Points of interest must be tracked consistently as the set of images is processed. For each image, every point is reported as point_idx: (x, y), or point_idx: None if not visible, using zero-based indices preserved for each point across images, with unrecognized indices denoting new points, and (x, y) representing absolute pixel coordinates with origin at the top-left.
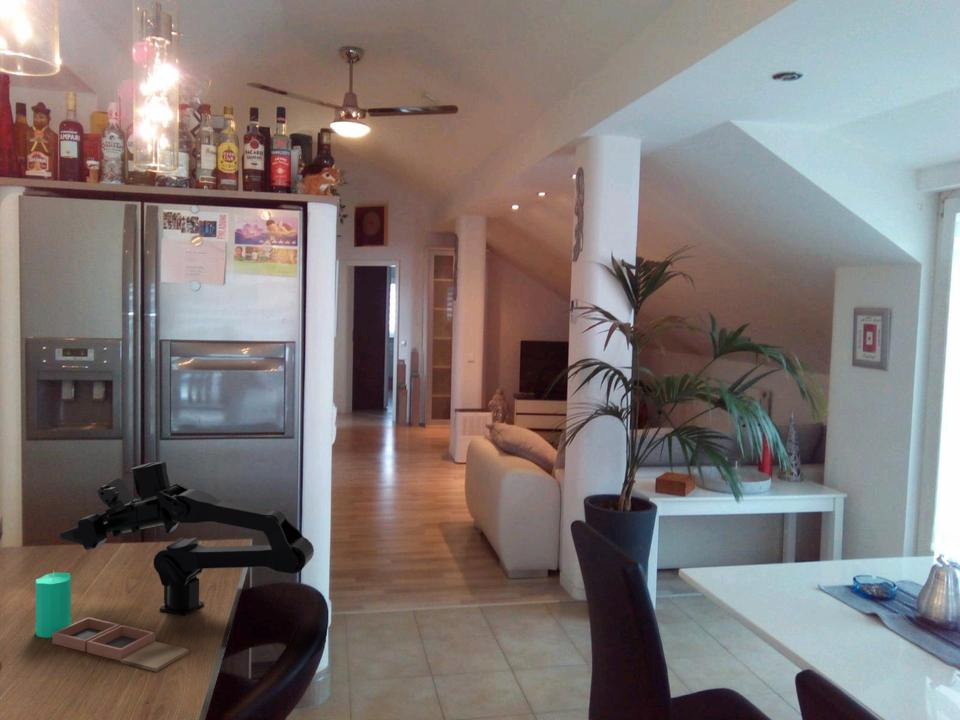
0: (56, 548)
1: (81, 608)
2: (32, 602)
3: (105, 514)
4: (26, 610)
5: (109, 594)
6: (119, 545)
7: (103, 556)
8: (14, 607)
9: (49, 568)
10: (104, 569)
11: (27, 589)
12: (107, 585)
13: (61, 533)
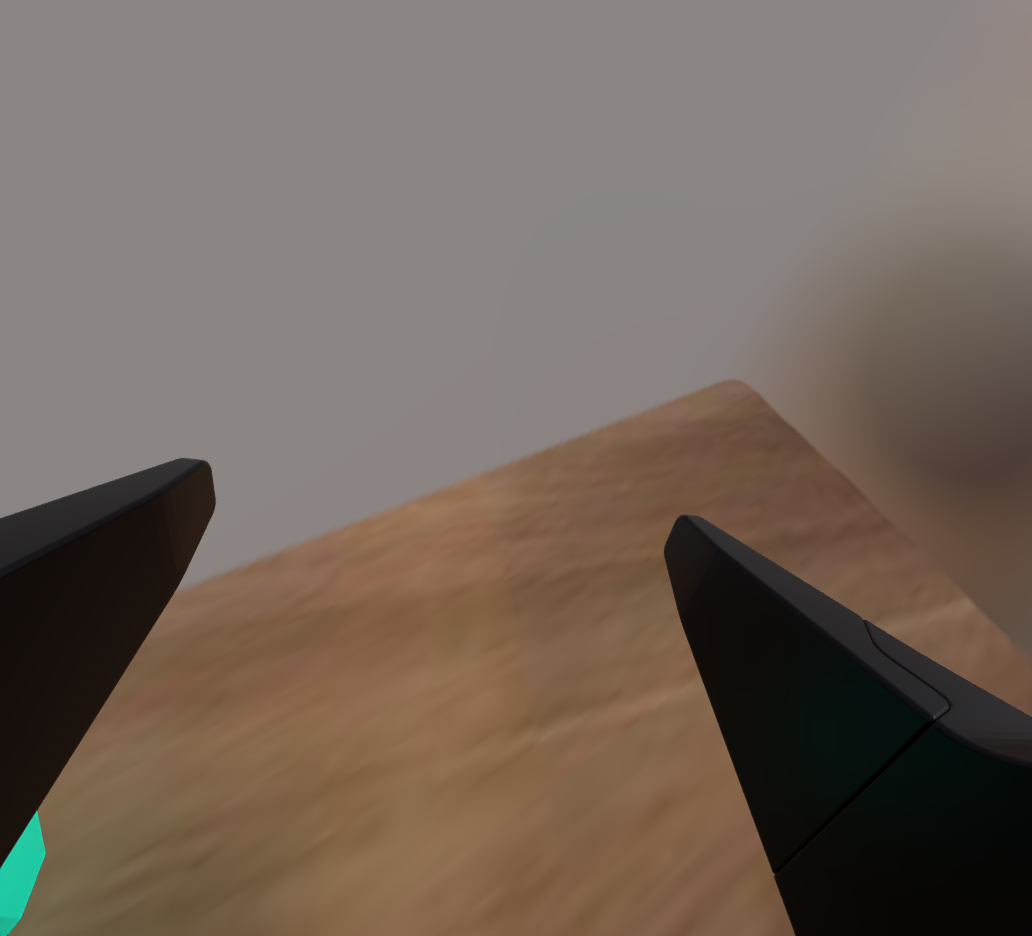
0: (799, 452)
1: (304, 858)
2: (393, 577)
3: (864, 699)
4: (306, 596)
5: (525, 907)
6: (951, 596)
7: (851, 595)
8: (343, 543)
9: (681, 494)
10: None
11: (511, 510)
12: (633, 800)
13: (162, 467)
